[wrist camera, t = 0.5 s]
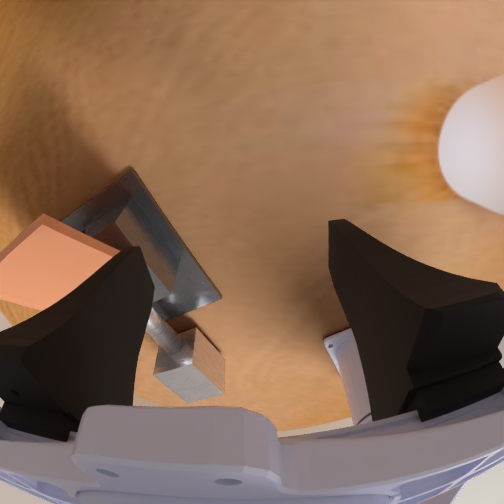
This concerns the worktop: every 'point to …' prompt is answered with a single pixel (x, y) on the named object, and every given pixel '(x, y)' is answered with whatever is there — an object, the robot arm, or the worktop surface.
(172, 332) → the hitch pin
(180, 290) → the hitch block
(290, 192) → the worktop surface
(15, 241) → the plate
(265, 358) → the worktop surface
